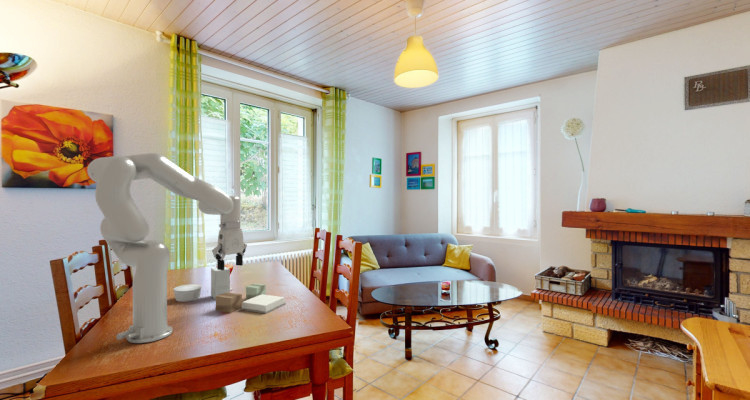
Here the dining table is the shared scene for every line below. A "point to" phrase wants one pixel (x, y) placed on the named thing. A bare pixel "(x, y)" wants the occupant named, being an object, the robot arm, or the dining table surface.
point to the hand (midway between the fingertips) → (230, 267)
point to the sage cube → (255, 290)
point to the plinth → (263, 303)
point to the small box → (220, 281)
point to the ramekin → (187, 292)
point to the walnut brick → (228, 302)
